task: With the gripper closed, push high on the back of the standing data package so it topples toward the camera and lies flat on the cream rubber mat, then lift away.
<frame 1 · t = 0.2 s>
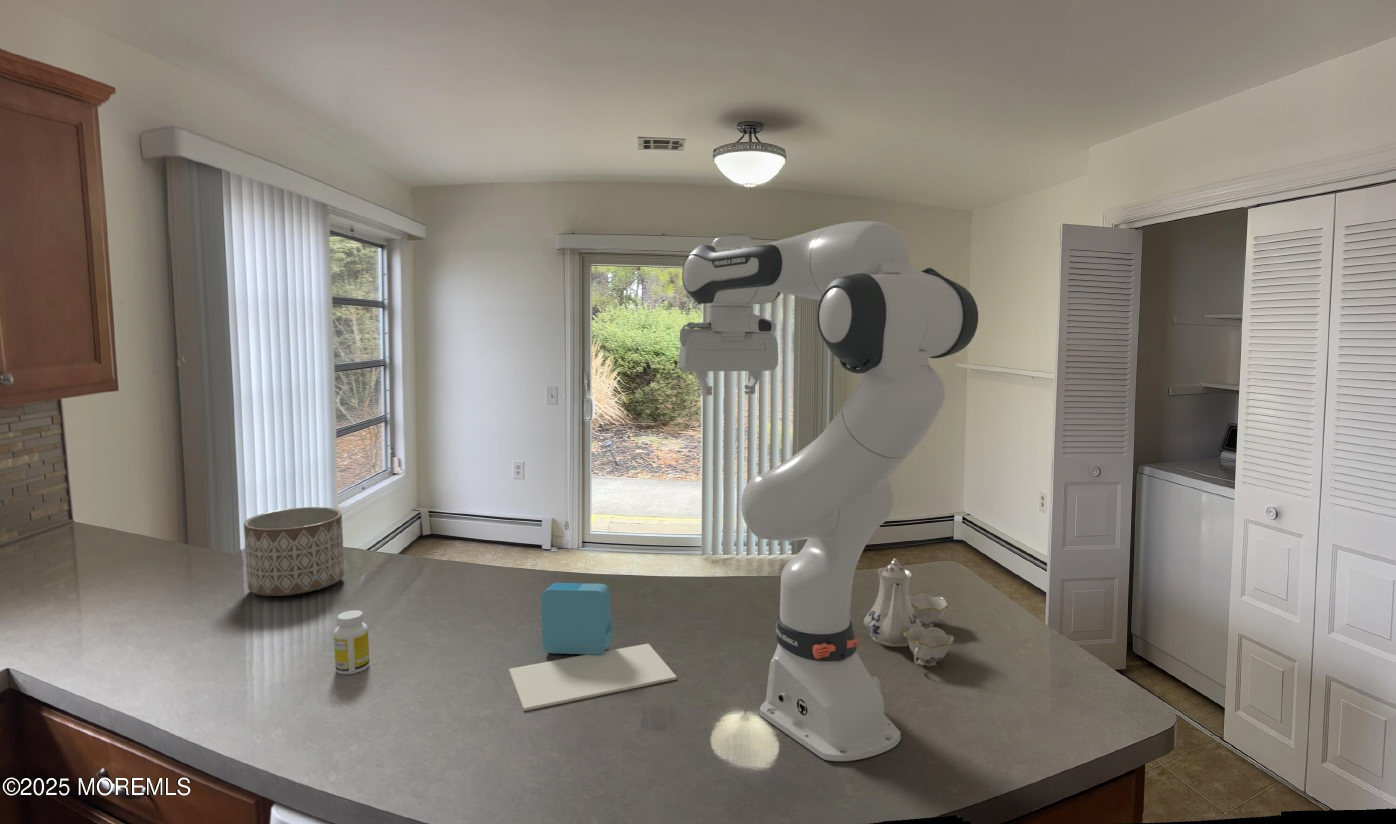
hand: (728, 394, 135), 48 cm above the countertop, fingers open, 8 cm apart
planter: (297, 587, 160), on the countertop
supplement bottle: (352, 669, 122), on the countertop
chinaware: (907, 641, 137), on the countertop
data package: (577, 650, 130), on the countertop, touching mat
mat: (592, 675, 121), on the countertop
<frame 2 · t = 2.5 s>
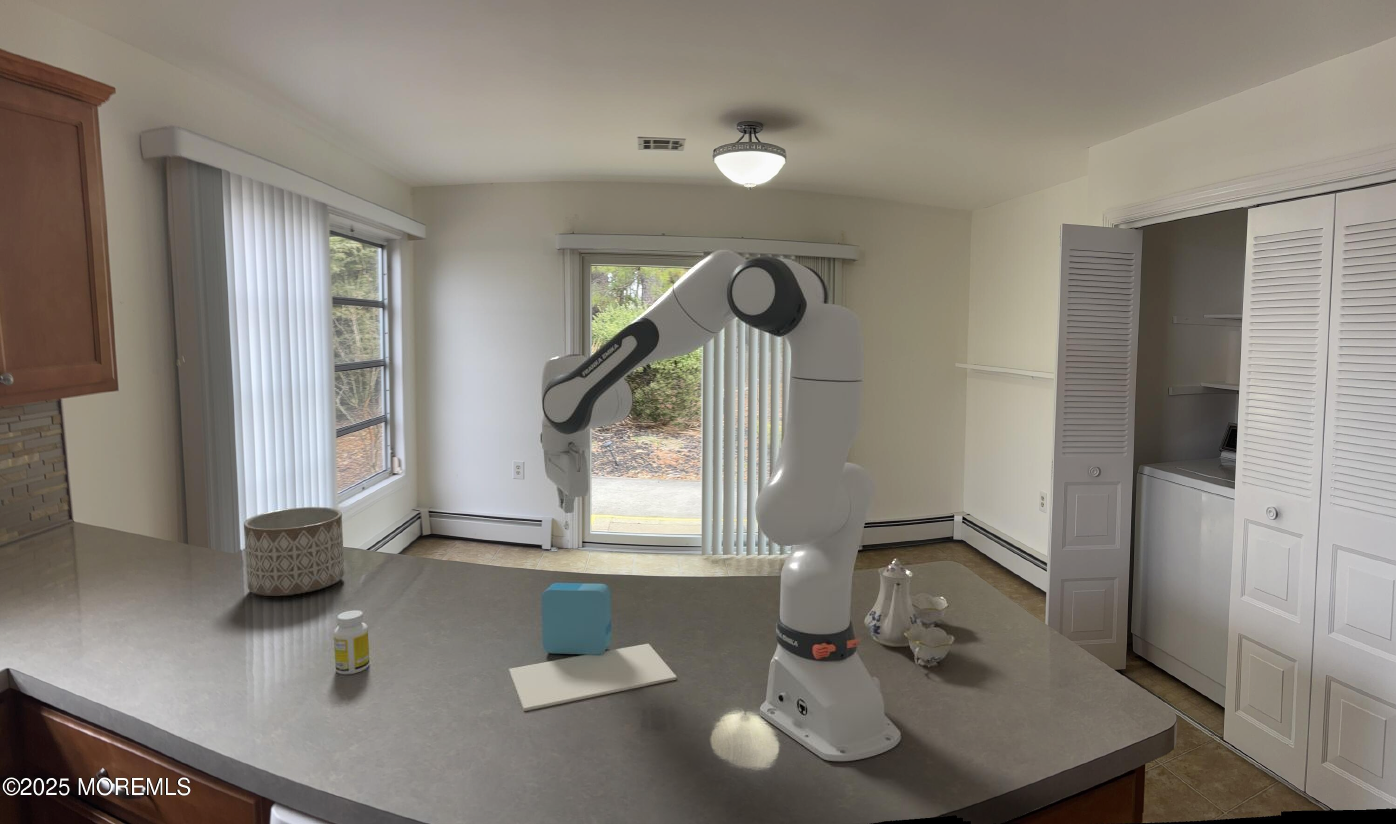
hand: (566, 510, 134), 25 cm above the countertop, fingers closed
nothing on the countertop moved.
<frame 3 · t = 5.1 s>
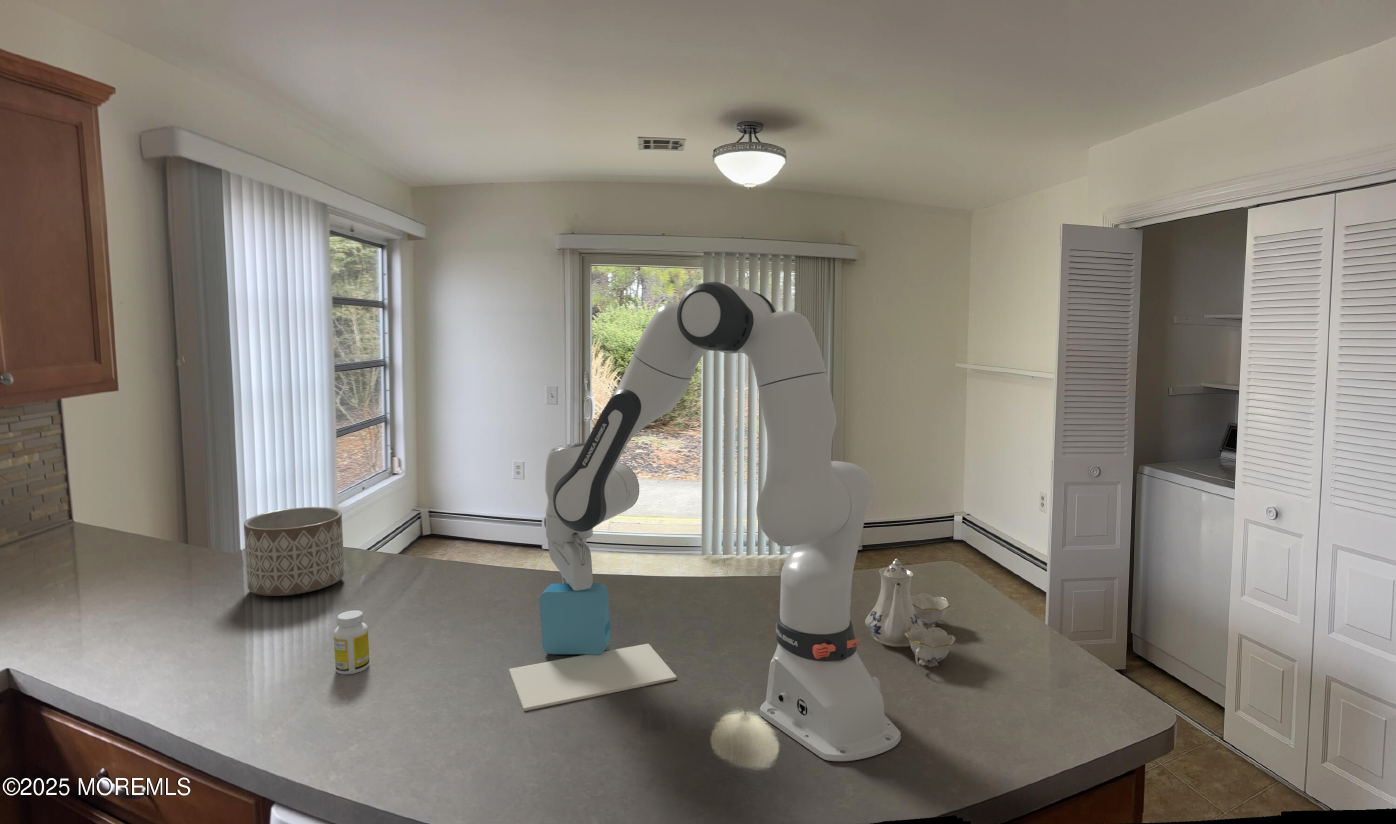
hand: (570, 596, 134), 8 cm above the countertop, fingers closed
data package: (577, 650, 130), on the countertop, touching gripper, mat
everything else where it was.
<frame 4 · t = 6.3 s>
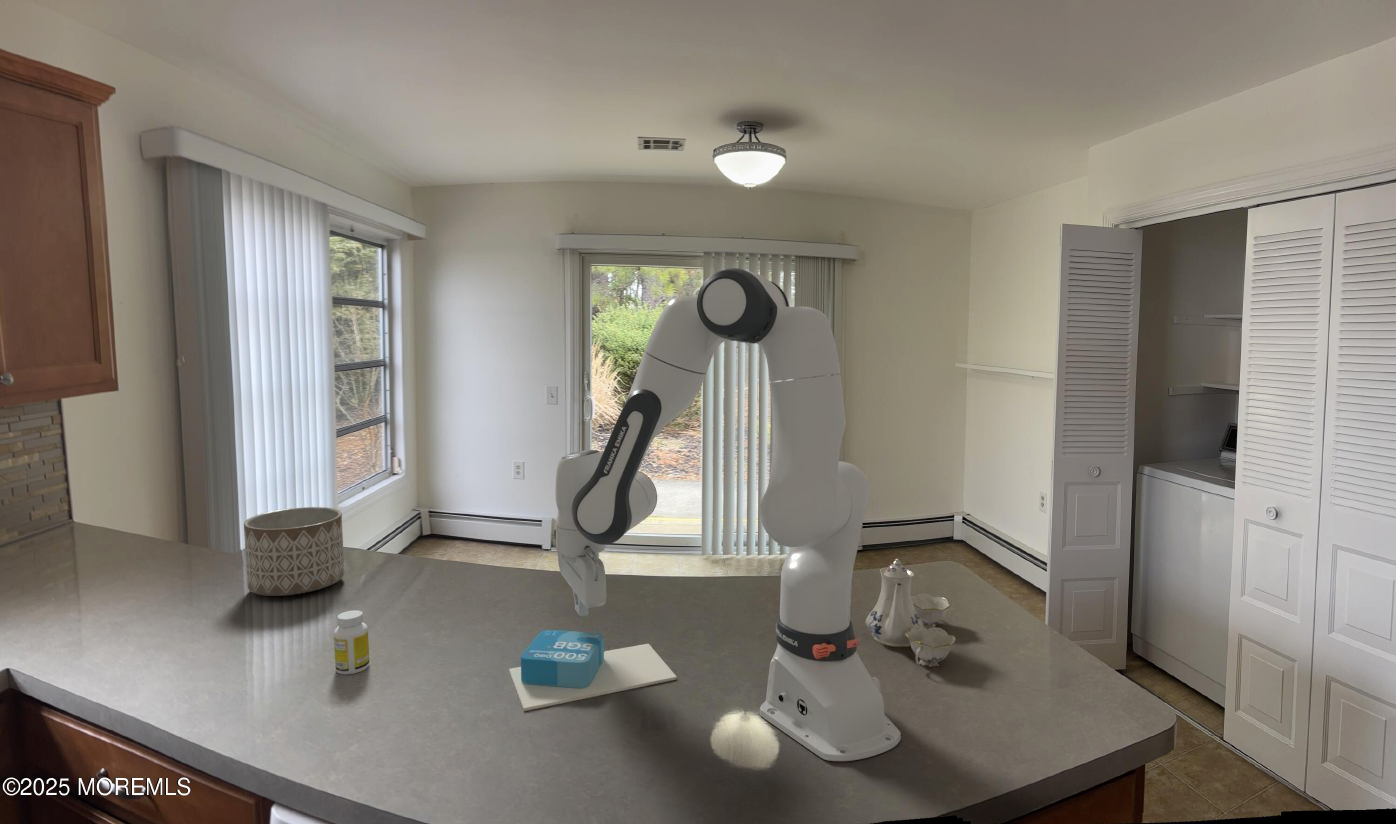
hand: (581, 613, 127), 8 cm above the countertop, fingers closed
data package: (574, 642, 127), point 3 cm above the countertop, touching mat
everything else where it was.
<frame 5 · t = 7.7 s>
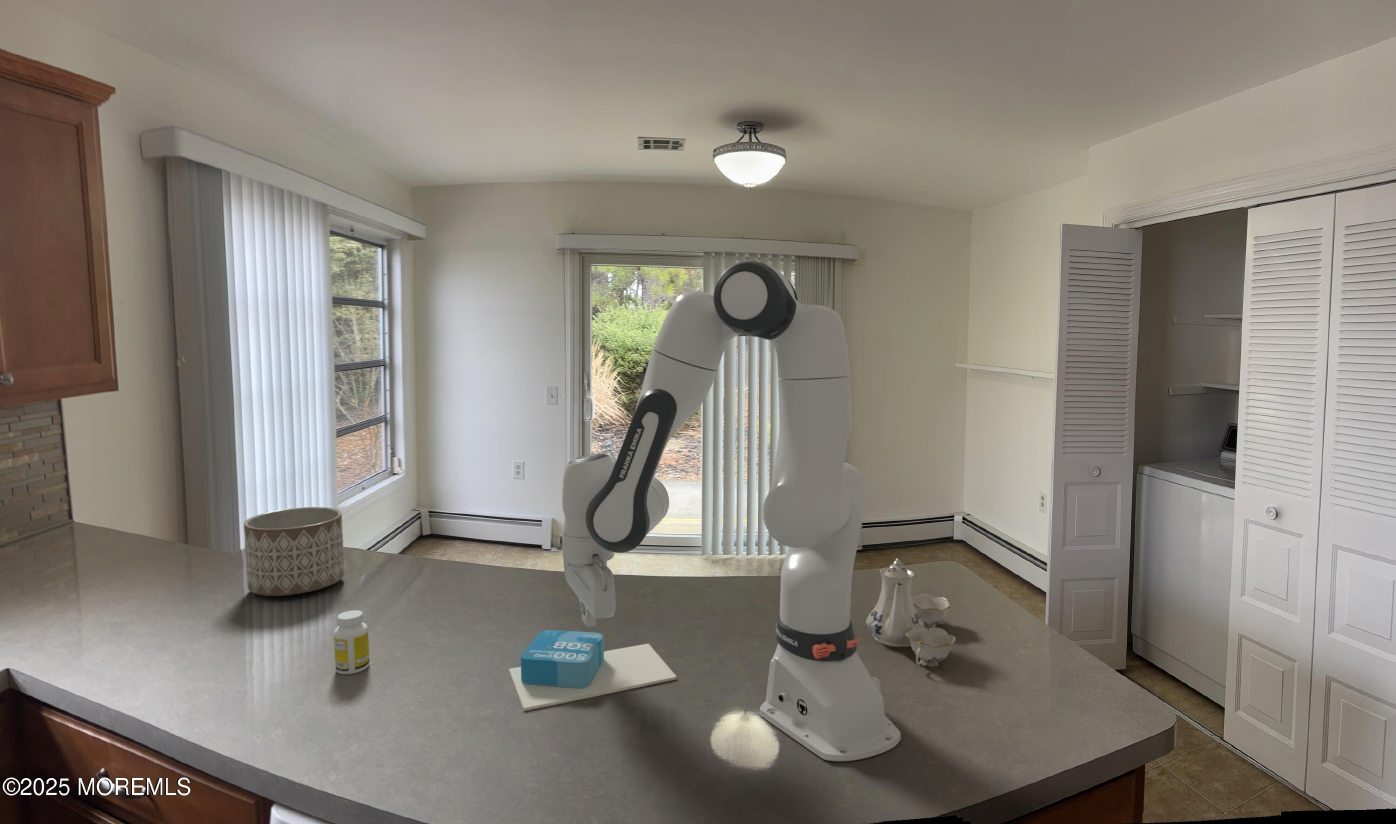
hand: (589, 623, 122), 9 cm above the countertop, fingers closed
nothing on the countertop moved.
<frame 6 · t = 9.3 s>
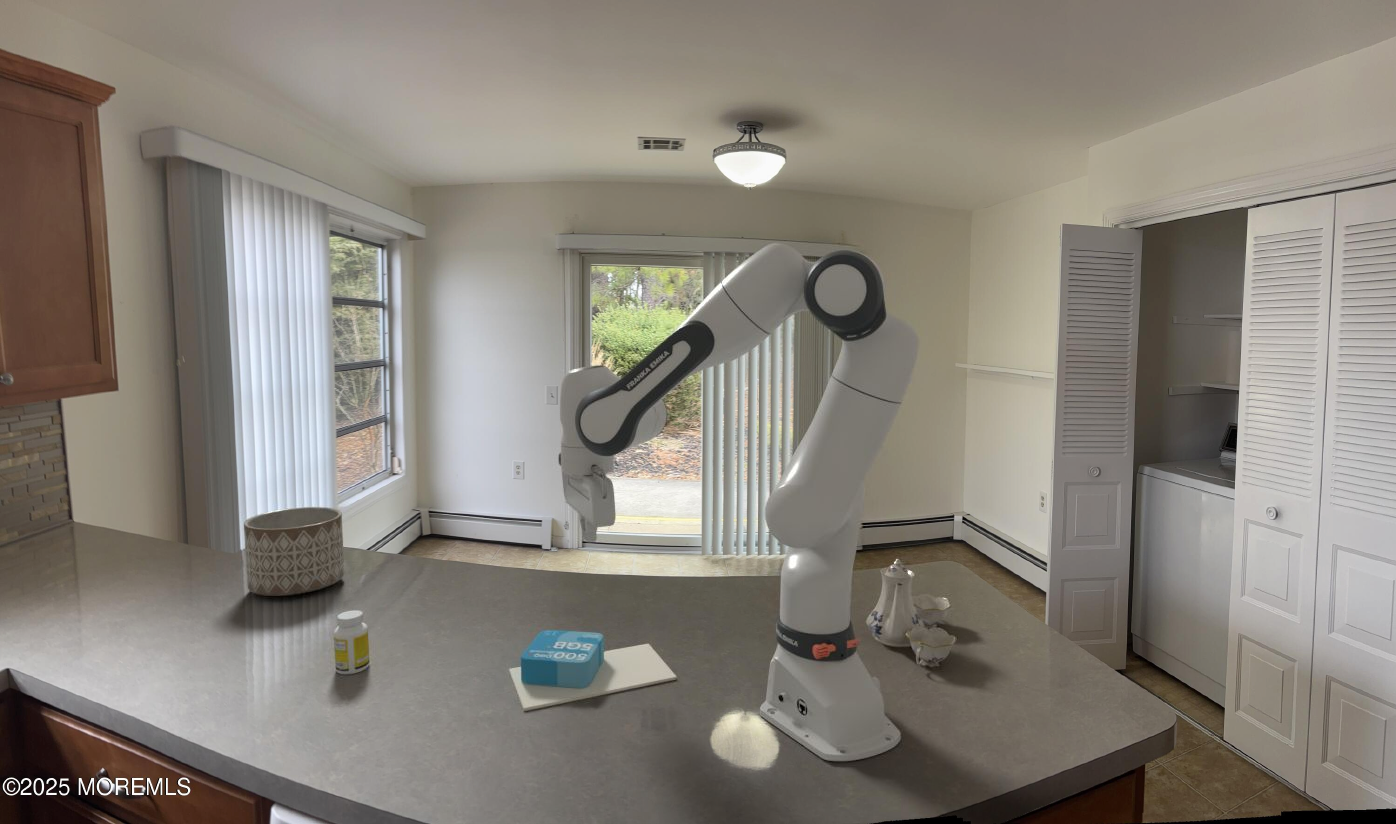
hand: (589, 540, 120), 24 cm above the countertop, fingers closed
nothing on the countertop moved.
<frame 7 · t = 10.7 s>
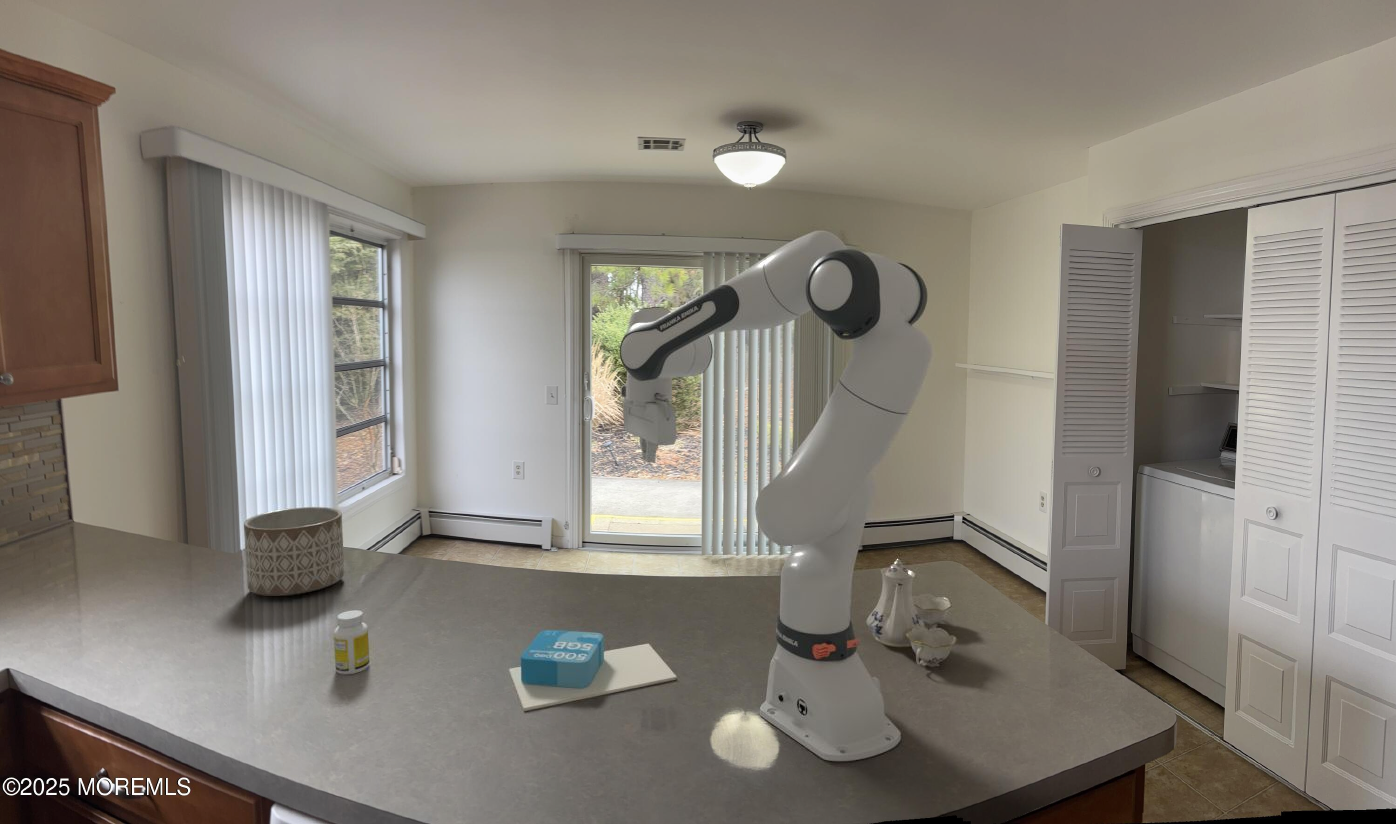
hand: (648, 461, 137), 34 cm above the countertop, fingers closed
nothing on the countertop moved.
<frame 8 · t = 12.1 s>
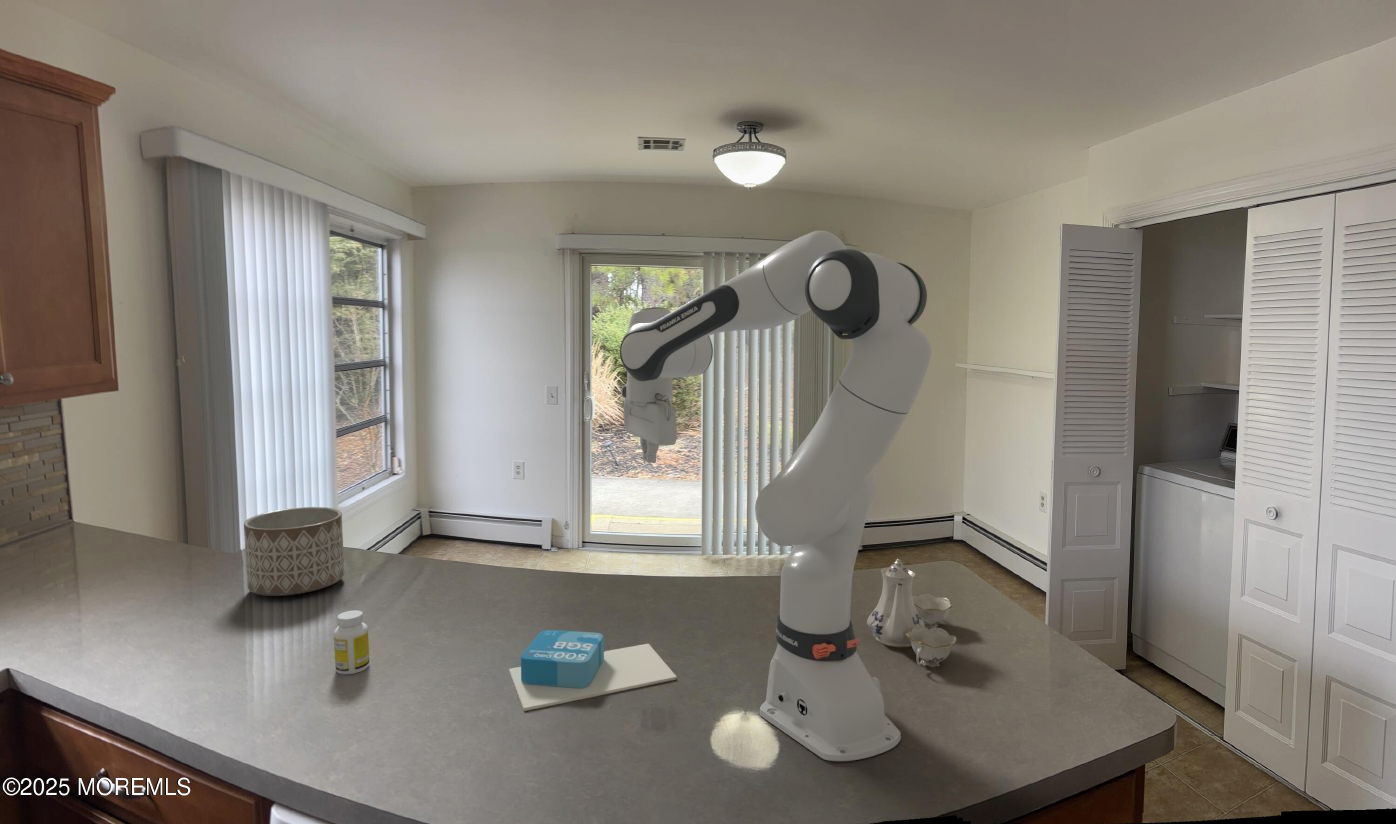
hand: (649, 461, 137), 34 cm above the countertop, fingers closed
nothing on the countertop moved.
at the end: data package tilted 90°; data package touching mat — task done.
